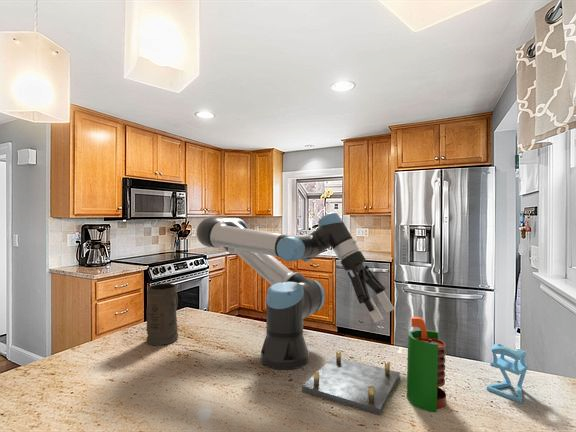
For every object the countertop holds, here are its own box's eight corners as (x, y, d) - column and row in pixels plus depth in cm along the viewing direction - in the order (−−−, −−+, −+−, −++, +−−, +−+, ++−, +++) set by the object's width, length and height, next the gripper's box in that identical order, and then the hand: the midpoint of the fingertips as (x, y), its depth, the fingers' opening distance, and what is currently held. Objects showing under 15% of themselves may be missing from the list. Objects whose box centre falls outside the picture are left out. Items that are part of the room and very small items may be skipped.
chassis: (301, 391, 84) (302, 374, 84) (333, 361, 102) (333, 347, 102) (380, 415, 73) (380, 395, 74) (399, 377, 92) (399, 361, 92)
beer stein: (171, 346, 112) (172, 288, 113) (140, 346, 113) (141, 288, 113) (185, 331, 128) (186, 280, 128) (158, 331, 128) (159, 280, 128)
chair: (532, 392, 84) (532, 345, 84) (520, 403, 79) (520, 353, 79) (498, 380, 90) (498, 337, 91) (486, 389, 85) (486, 344, 86)
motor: (451, 414, 74) (451, 326, 75) (410, 409, 76) (410, 323, 76) (440, 391, 84) (440, 314, 85) (403, 387, 86) (404, 312, 86)
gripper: (345, 251, 94) (385, 320, 88) (370, 248, 116) (404, 302, 109) (325, 264, 97) (362, 331, 91) (353, 258, 119) (385, 312, 112)
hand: (385, 315), depth 100 cm, fingers open, 13 cm apart
